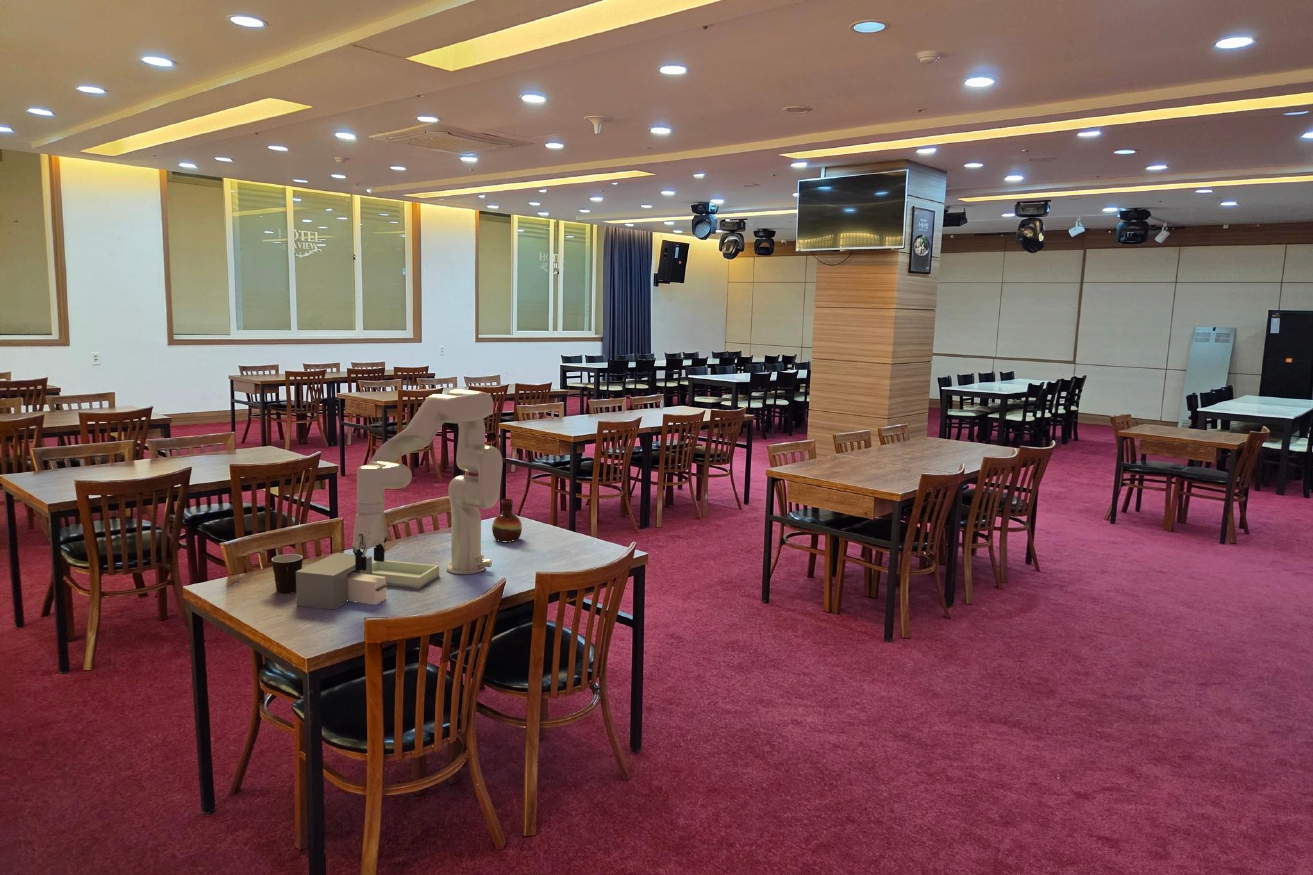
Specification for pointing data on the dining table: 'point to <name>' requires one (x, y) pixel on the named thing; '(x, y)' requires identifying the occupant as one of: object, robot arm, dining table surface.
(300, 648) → the dining table surface
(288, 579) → the coffee mug
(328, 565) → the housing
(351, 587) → the tan cardboard box
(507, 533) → the vase
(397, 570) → the tray
